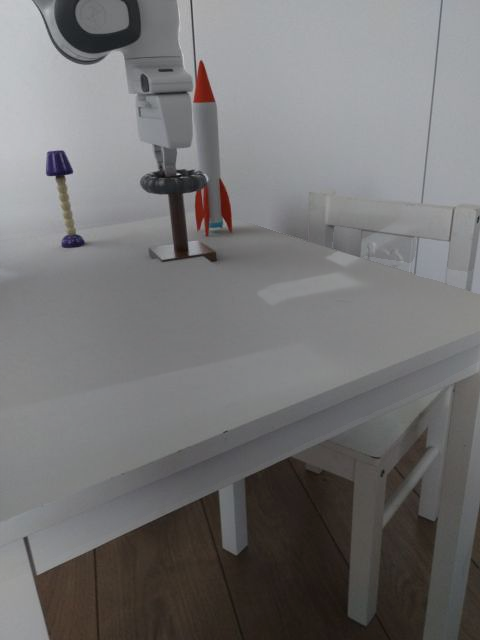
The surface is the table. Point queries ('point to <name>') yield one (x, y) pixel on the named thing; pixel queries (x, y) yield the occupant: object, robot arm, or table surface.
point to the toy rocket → (209, 158)
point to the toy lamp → (63, 194)
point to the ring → (174, 182)
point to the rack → (180, 235)
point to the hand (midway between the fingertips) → (167, 174)
